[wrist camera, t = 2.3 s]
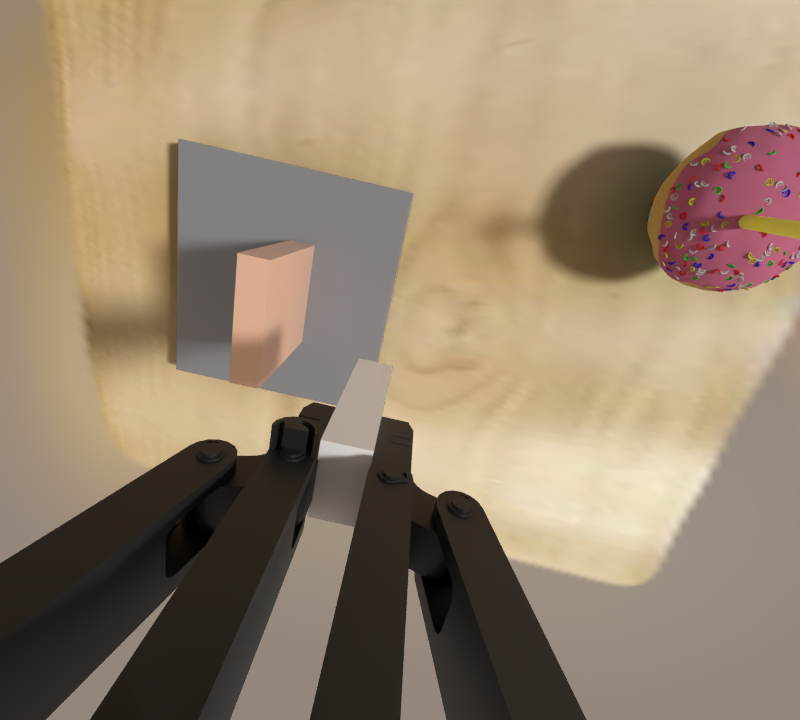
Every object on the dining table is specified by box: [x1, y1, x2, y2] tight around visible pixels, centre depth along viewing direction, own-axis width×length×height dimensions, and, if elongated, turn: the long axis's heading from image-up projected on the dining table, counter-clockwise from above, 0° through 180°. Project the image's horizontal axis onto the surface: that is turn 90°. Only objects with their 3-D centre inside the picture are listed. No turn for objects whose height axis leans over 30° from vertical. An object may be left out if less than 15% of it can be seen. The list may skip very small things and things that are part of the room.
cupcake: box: [647, 122, 800, 292], centre depth 20 cm, size 9×8×12 cm
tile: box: [229, 240, 315, 389], centre depth 24 cm, size 7×2×8 cm, turn 168°
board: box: [176, 139, 414, 405], centre depth 29 cm, size 16×15×2 cm
